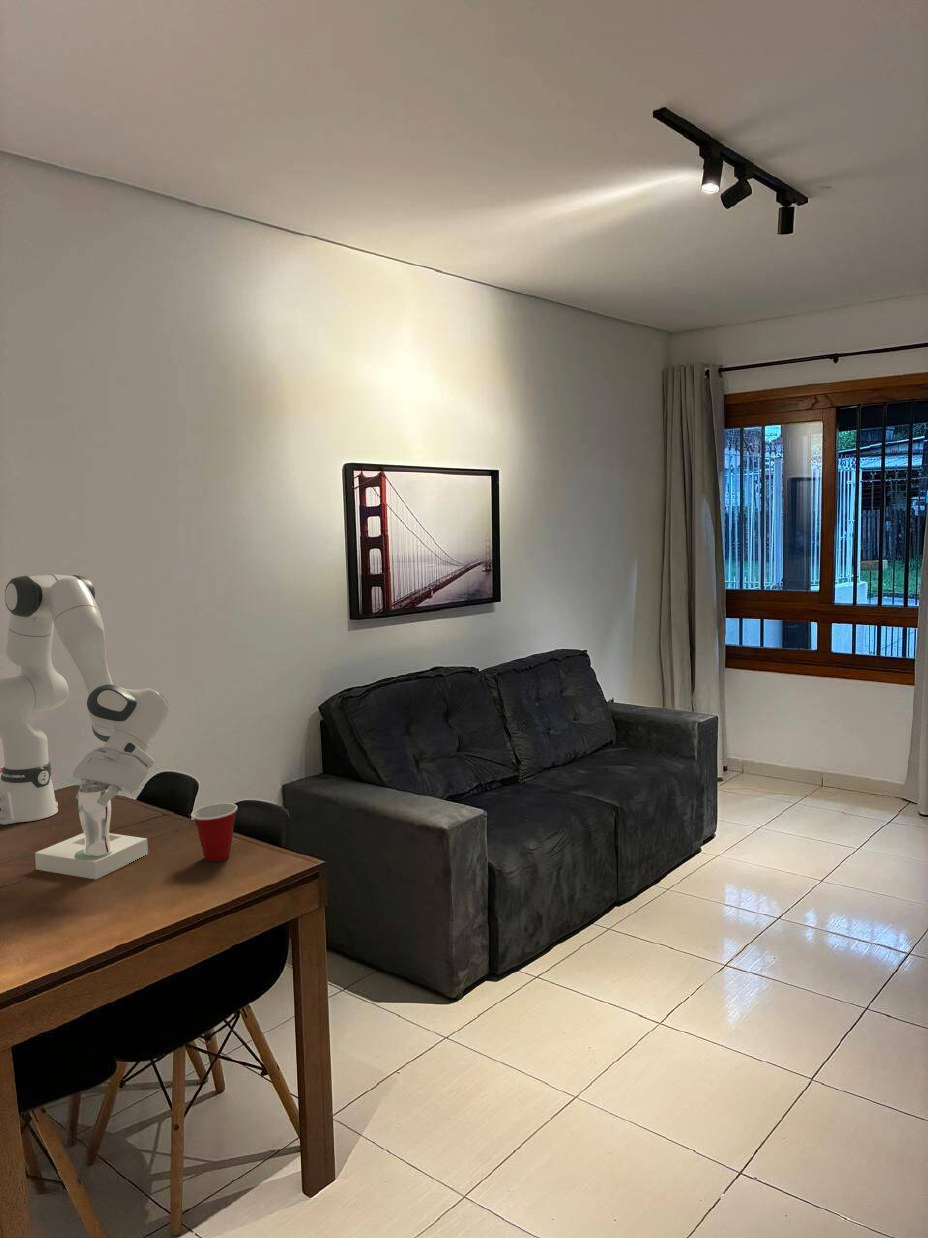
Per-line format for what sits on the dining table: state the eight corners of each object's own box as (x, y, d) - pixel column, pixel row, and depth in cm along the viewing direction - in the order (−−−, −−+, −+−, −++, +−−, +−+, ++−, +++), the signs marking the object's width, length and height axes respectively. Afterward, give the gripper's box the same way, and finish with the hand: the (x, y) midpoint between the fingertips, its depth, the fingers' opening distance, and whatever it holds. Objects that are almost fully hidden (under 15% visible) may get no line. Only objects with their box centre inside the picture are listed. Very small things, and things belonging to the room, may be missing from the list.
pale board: (36, 869, 216) (34, 851, 216) (90, 846, 232) (89, 829, 232) (96, 879, 210) (95, 861, 209) (148, 854, 225) (147, 837, 225)
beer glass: (118, 846, 218) (114, 784, 217) (107, 857, 211) (103, 792, 210) (88, 847, 218) (84, 785, 217) (76, 858, 211) (72, 793, 210)
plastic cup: (191, 853, 226) (188, 805, 225) (236, 847, 230) (234, 800, 228) (194, 868, 216) (192, 818, 215) (242, 862, 220) (240, 812, 218)
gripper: (87, 739, 224) (53, 789, 216) (143, 748, 213) (108, 801, 205) (104, 753, 228) (71, 803, 221) (159, 763, 217) (127, 815, 210)
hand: (89, 802), depth 213 cm, fingers closed on beer glass, 6 cm apart
